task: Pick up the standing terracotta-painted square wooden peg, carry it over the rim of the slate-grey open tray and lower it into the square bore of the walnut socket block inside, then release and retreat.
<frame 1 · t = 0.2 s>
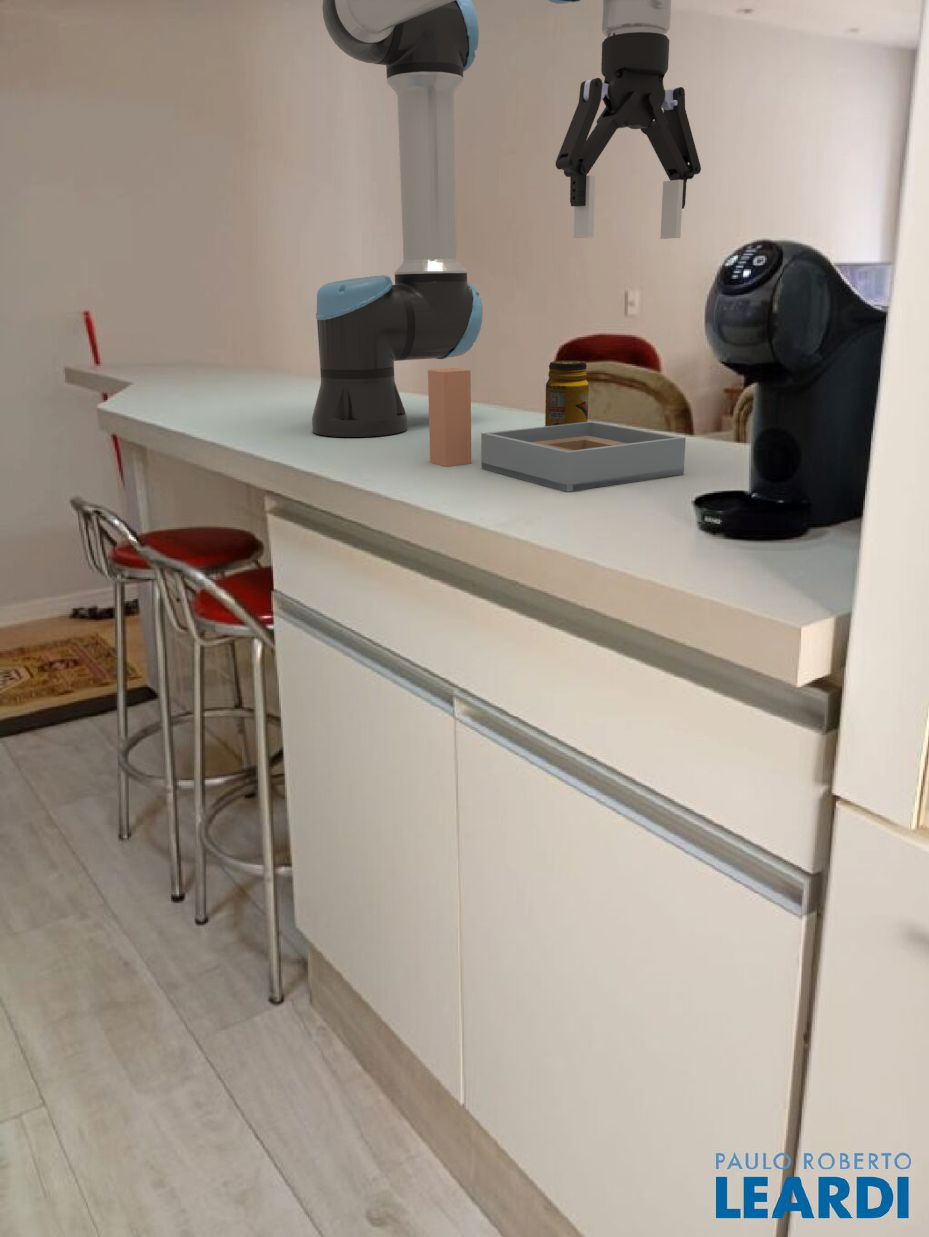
hand: (628, 238, 120), 27 cm above the counter, fingers open, 13 cm apart
peg: (450, 462, 134), on the counter
tray box: (580, 471, 127), on the counter
condiment: (560, 449, 144), on the counter
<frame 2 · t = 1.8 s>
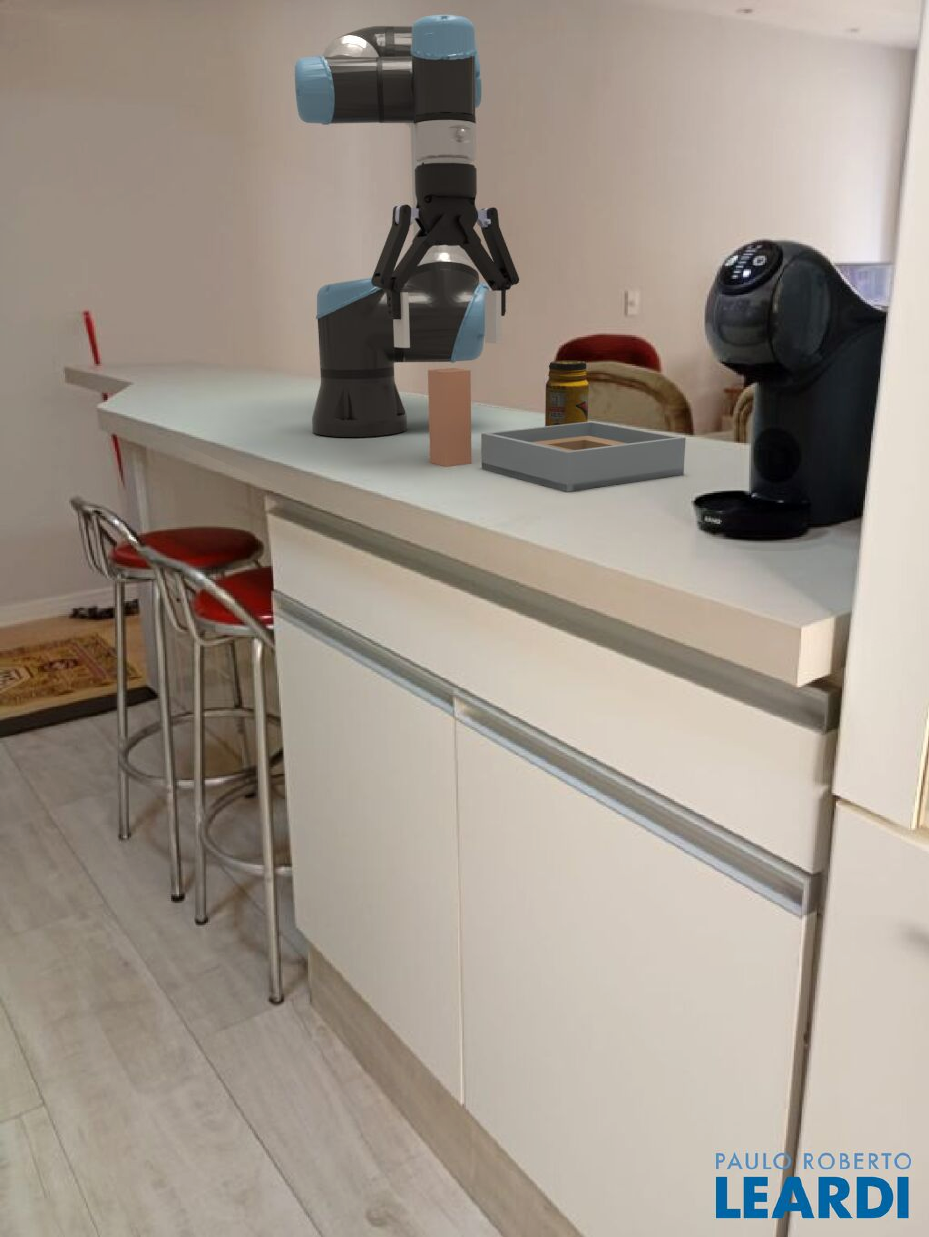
hand: (448, 345, 129), 15 cm above the counter, fingers open, 13 cm apart
nothing on the counter moved.
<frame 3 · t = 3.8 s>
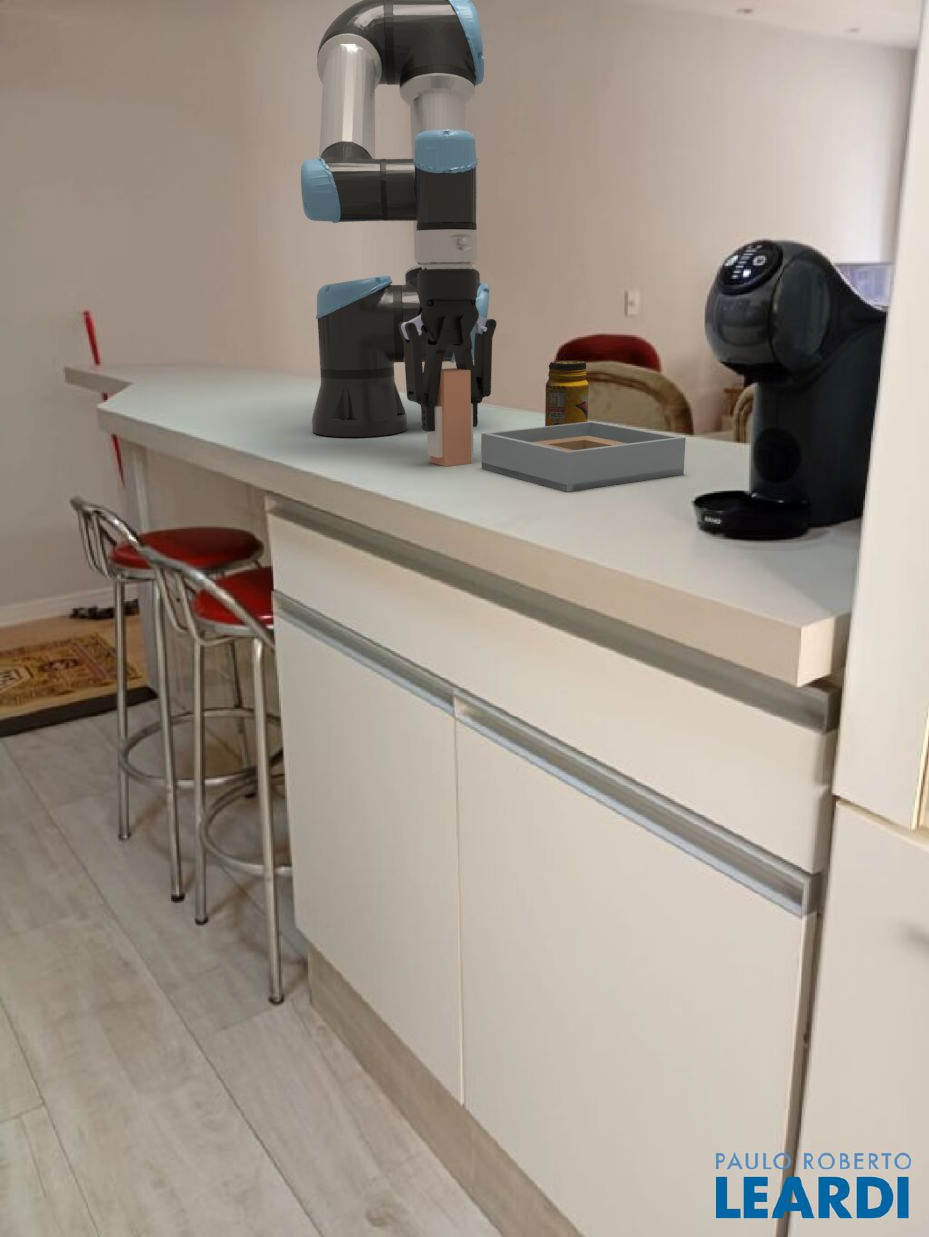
hand: (450, 453, 133), 1 cm above the counter, fingers closed on peg, 4 cm apart
peg: (450, 462, 134), on the counter, touching gripper
everything else where it was.
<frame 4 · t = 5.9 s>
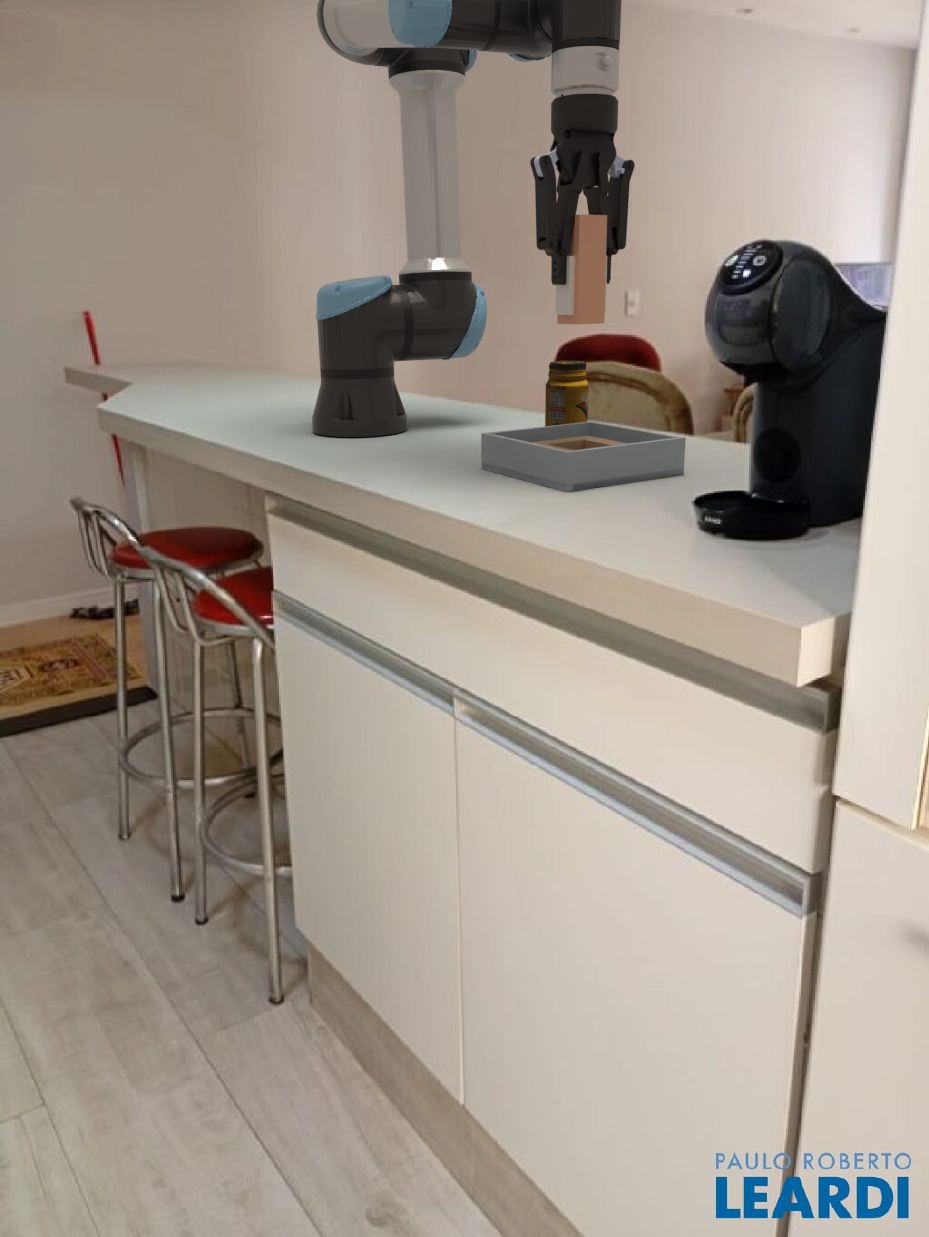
hand: (580, 313, 120), 19 cm above the counter, fingers closed on peg, 4 cm apart
peg: (580, 323, 121), point 18 cm above the counter, touching gripper
everything else where it was.
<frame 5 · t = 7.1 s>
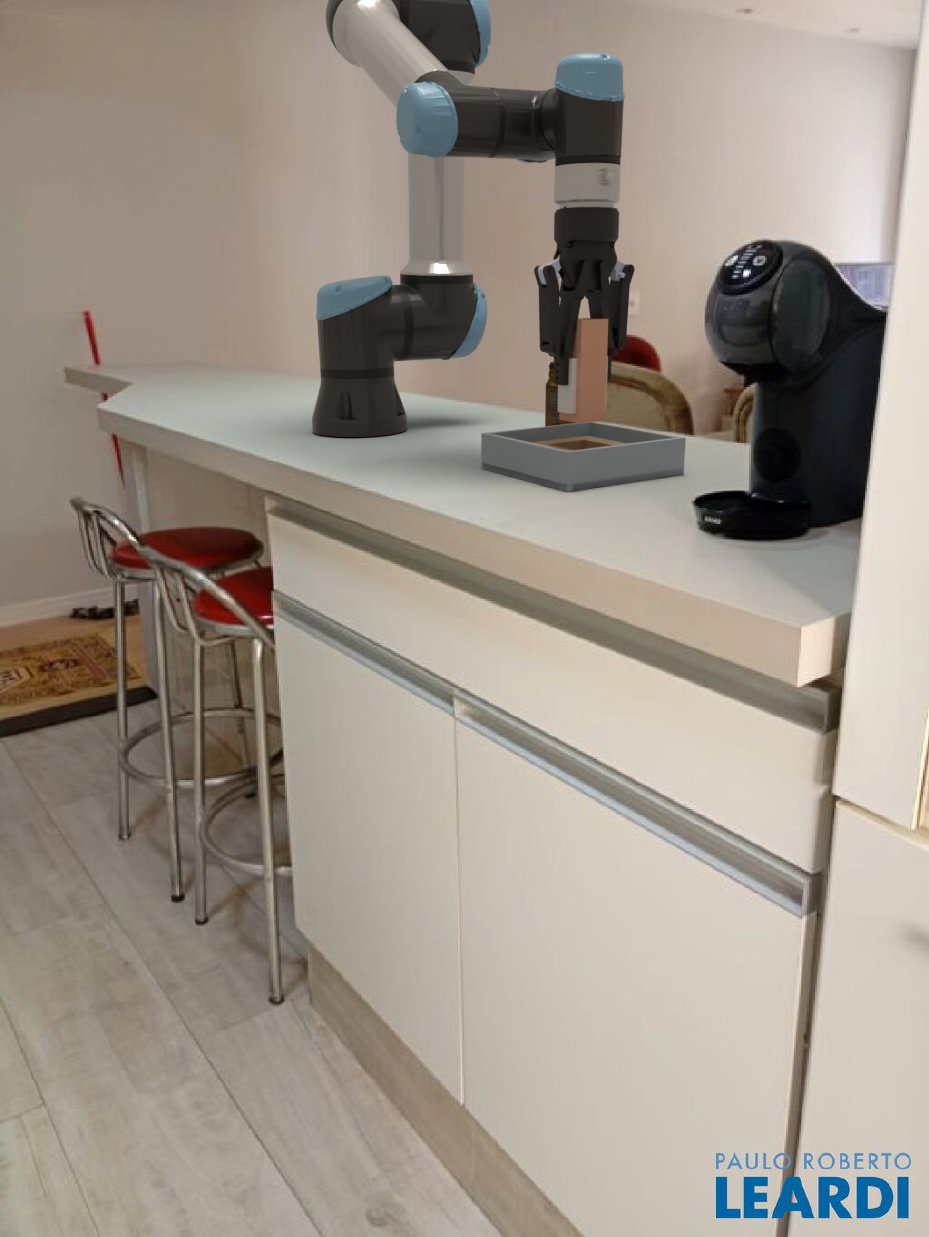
hand: (581, 410, 124), 8 cm above the counter, fingers closed on peg, 4 cm apart
peg: (582, 419, 124), point 6 cm above the counter, touching gripper
everything else where it was.
when the fingers open (4 cm above the counter, at t = 8.1 s): peg drops 2 cm, resting on tray box.
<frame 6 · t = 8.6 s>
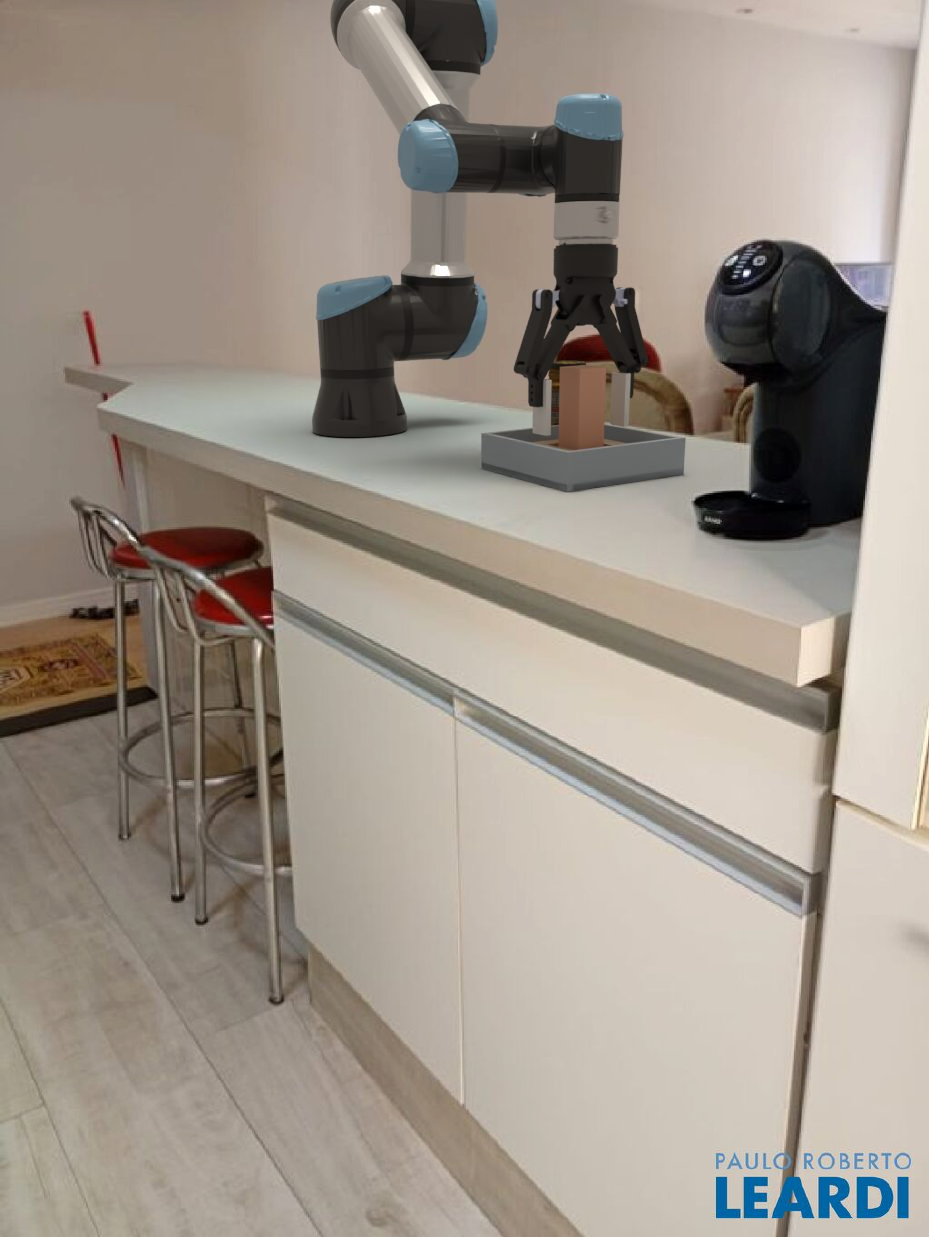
hand: (581, 429, 125), 5 cm above the counter, fingers open, 11 cm apart
peg: (580, 465, 126), point 1 cm above the counter, touching tray box
everything else where it was.
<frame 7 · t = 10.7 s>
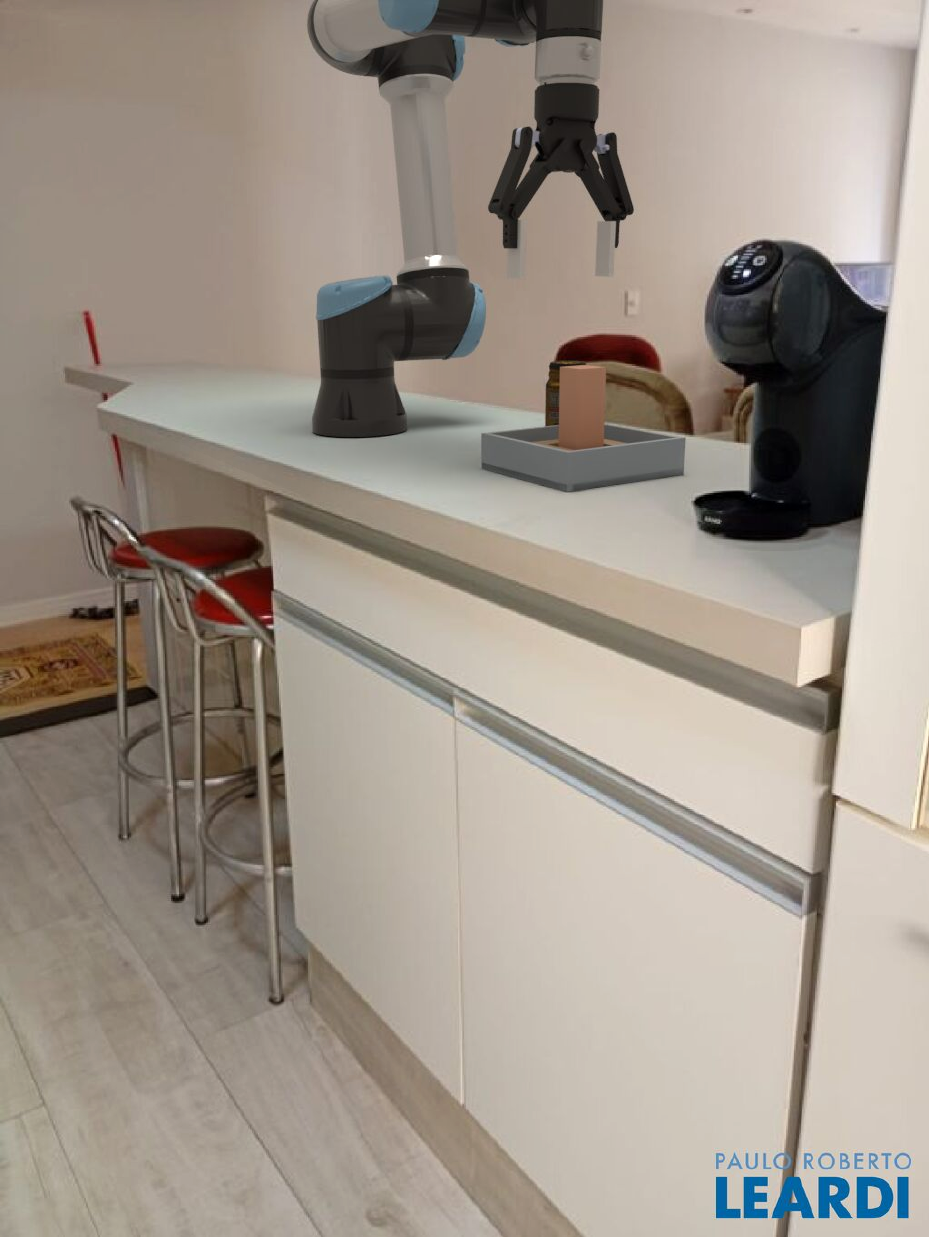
hand: (561, 277, 124), 23 cm above the counter, fingers open, 13 cm apart
nothing on the counter moved.
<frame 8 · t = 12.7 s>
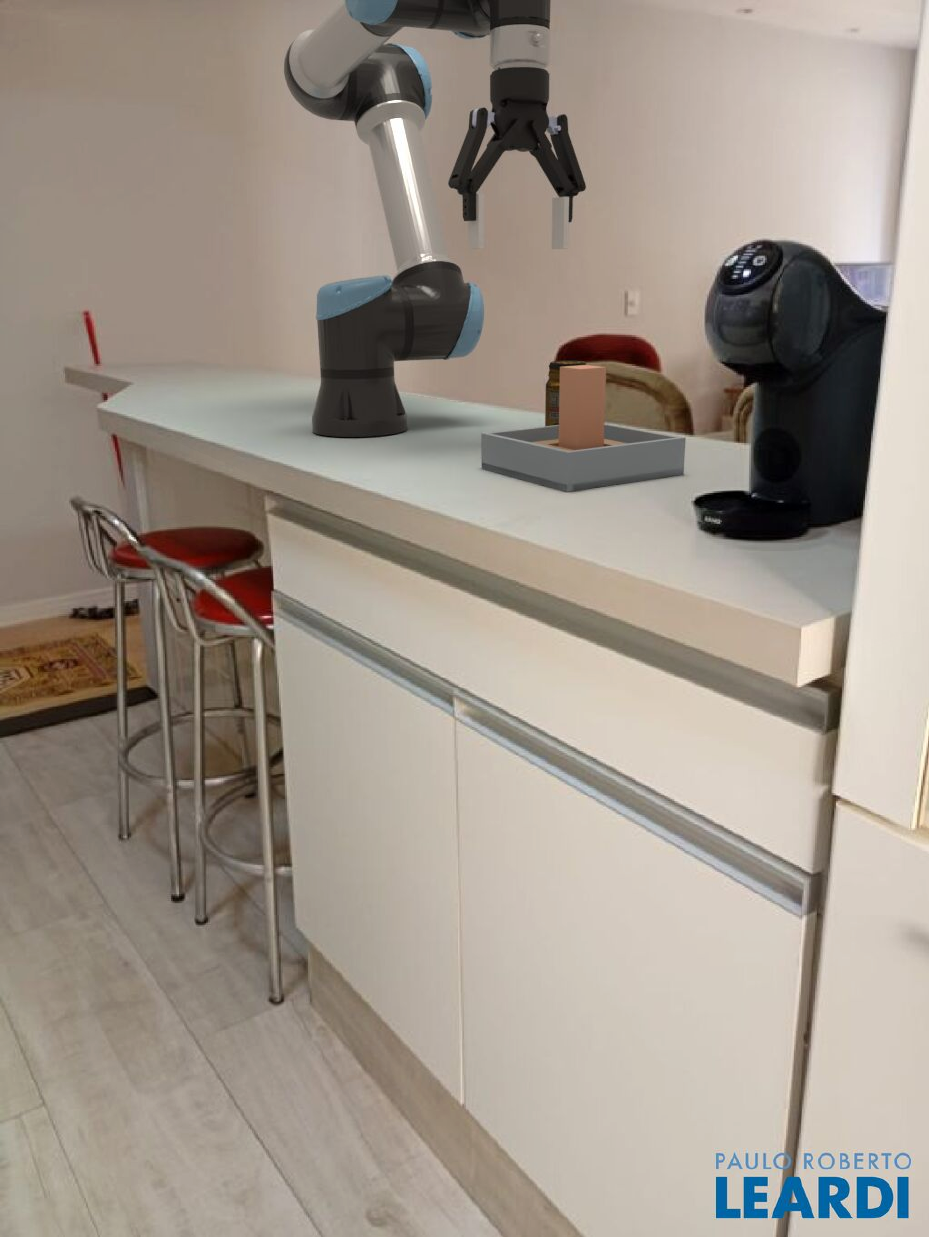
hand: (518, 249, 134), 27 cm above the counter, fingers open, 13 cm apart
nothing on the counter moved.
at the end: peg 0.0 cm off-centre on the tray box, point 0.8 cm above the tray box's base; peg tilted 0°; the gripper is holding nothing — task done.
